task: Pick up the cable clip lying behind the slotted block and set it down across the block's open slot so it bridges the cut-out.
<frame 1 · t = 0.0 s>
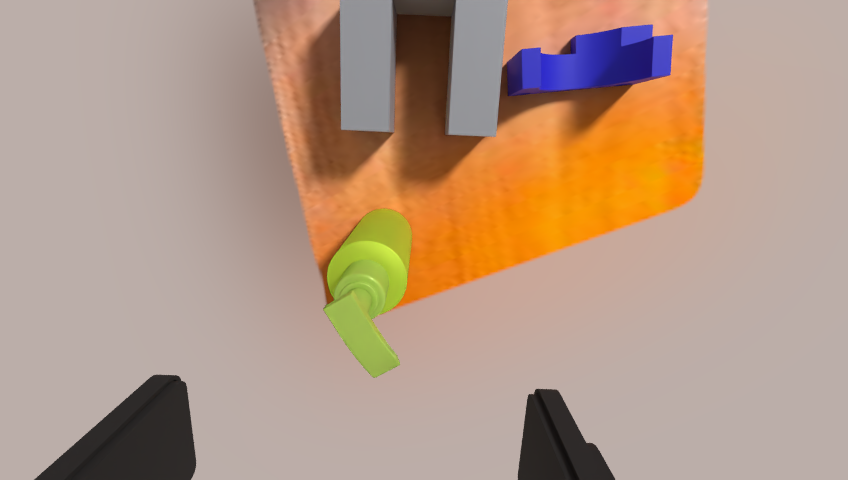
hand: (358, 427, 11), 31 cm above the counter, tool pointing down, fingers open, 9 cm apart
cable clip: (569, 65, 38), on the counter
soap dispenser: (387, 239, 42), on the counter
slotted block: (422, 68, 37), on the counter
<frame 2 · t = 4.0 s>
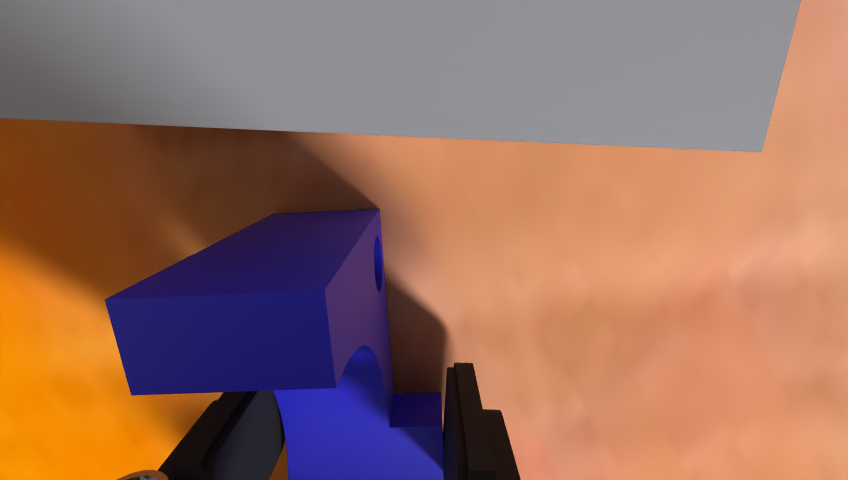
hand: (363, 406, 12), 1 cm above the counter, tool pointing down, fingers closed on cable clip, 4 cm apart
cable clip: (371, 390, 13), on the counter, touching gripper
when the fingers open (8 cm above the counter, at t = 9.3 s): cable clip stays where it is, resting on slotted block.
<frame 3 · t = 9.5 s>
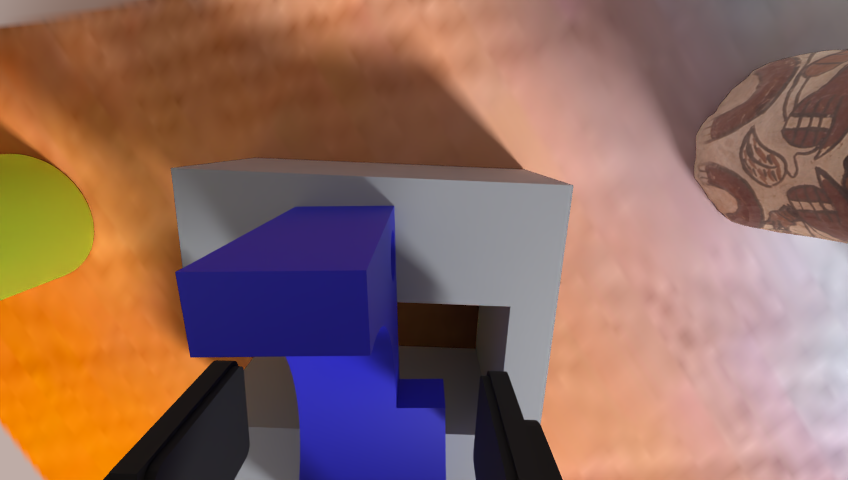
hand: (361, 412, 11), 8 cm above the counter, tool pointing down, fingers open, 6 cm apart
cable clip: (378, 375, 14), point 6 cm above the counter, touching slotted block
soap dispenser: (25, 223, 18), on the counter
figurine: (772, 145, 18), on the counter
slotted block: (387, 299, 19), on the counter
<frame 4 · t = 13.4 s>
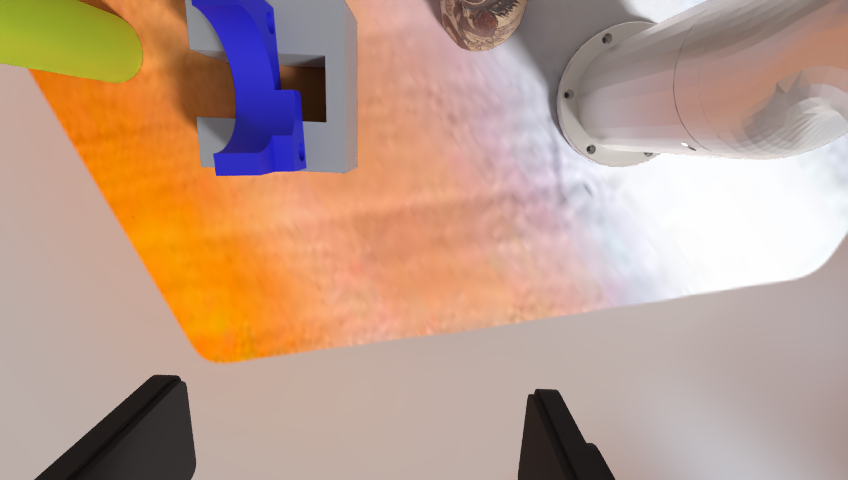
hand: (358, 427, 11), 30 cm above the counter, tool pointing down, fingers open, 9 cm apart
cable clip: (272, 92, 32), point 6 cm above the counter, touching slotted block
soap dispenser: (107, 52, 36), on the counter
figurine: (479, 9, 36), on the counter
slotted block: (293, 94, 37), on the counter
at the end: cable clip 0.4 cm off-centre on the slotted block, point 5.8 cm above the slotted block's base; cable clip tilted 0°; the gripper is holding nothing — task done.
